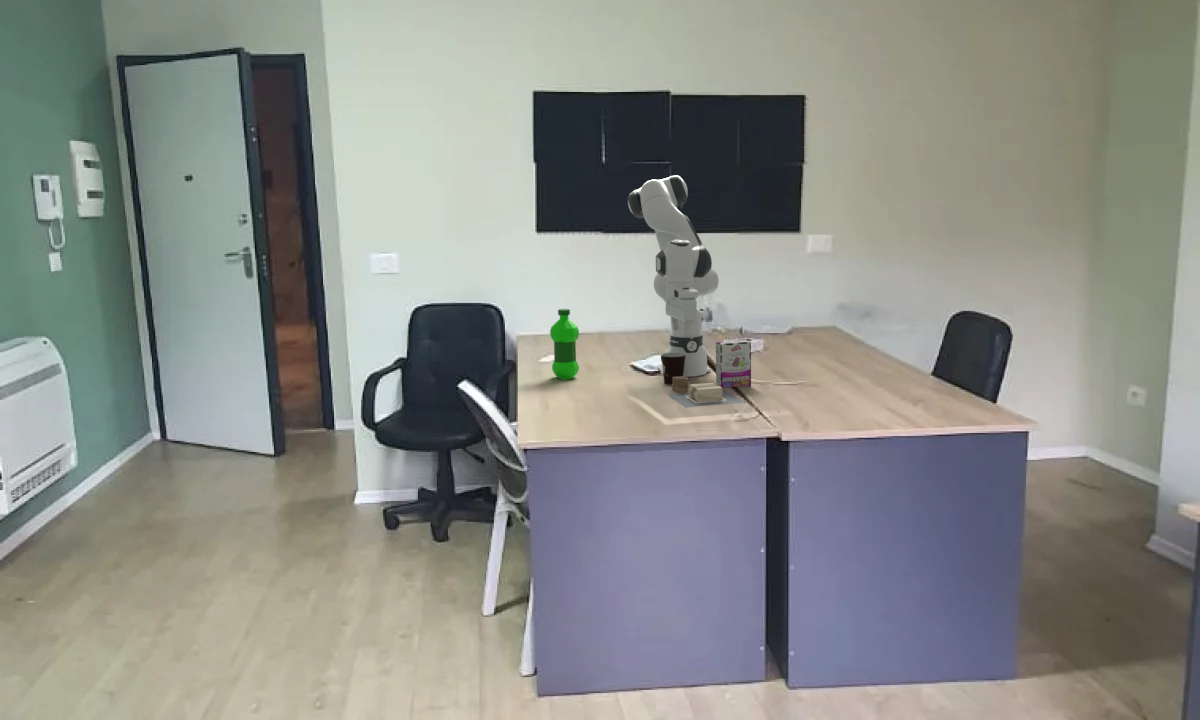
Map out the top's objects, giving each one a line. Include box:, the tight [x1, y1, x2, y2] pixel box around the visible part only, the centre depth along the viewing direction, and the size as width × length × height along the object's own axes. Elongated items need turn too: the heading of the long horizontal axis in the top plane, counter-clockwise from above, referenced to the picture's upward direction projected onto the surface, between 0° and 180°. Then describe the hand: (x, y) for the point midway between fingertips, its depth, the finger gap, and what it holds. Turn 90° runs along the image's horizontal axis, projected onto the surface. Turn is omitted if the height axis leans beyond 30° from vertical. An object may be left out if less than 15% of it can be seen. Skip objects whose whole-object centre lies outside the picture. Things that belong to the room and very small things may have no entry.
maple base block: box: [689, 382, 723, 402], centre depth 298 cm, size 8×8×4 cm
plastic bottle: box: [549, 308, 580, 380], centre depth 338 cm, size 10×10×25 cm
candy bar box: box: [715, 339, 752, 388], centre depth 316 cm, size 11×5×16 cm, turn 105°
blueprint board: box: [667, 389, 747, 408], centre depth 298 cm, size 18×20×2 cm
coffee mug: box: [660, 352, 686, 385], centre depth 330 cm, size 12×9×10 cm
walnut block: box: [672, 376, 689, 394], centre depth 309 cm, size 4×4×6 cm
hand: (680, 332), depth 306 cm, fingers open, 8 cm apart
